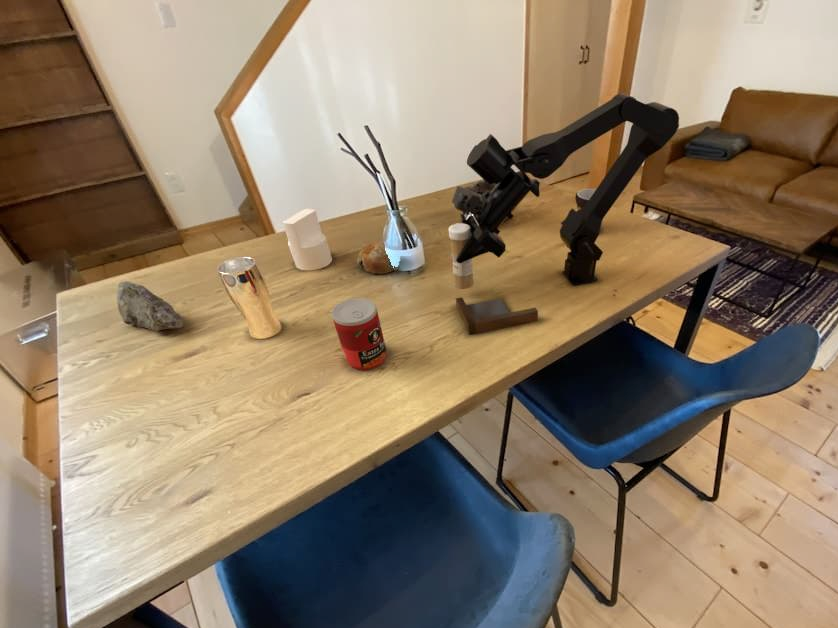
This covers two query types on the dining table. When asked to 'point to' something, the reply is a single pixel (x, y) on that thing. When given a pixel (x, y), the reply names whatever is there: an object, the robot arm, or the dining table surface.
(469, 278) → the sprinkles bottle
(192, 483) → the dining table surface
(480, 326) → the corner guide
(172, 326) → the mineral rock
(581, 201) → the coffee mug
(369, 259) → the bread roll
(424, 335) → the dining table surface
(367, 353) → the canned food
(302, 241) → the base with upright slab
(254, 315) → the beer glass
